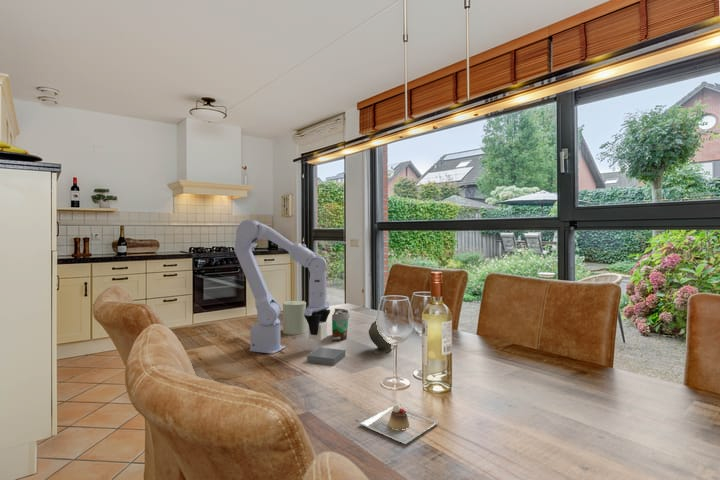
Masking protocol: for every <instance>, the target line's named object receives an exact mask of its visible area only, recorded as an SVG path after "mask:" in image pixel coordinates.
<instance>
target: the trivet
mask: <svg viewBox="0 0 720 480" xmlns="http://www.w3.org/2000/svg"><path fill="white" fill-rule="evenodd" d="M345 357H346V349H338V348H337V349H336V348H329V347H320V346H319V347H318V348H317V349H315V350H314V351H312V352H310V353H309V354H307V355H306V362H307V363H313V364H322V365H328V366H335V365H336V364H338V363H339V362H340V361H341V360H343V359H344V358H345Z"/></svg>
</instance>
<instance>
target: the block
mask: <svg viewBox="0 0 720 480" xmlns="http://www.w3.org/2000/svg"><path fill="white" fill-rule="evenodd" d="M327 326H328V323H327V321H326V322H320V321H319V327H318V334H317V335H311V333H310V329H309V328H308V339H309V340H314V341H315V340H316V341H322V340H324V339H325V338H327V337H328V335H327V334H328V333H327V330H328V329H327V328H328V327H327Z"/></svg>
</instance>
